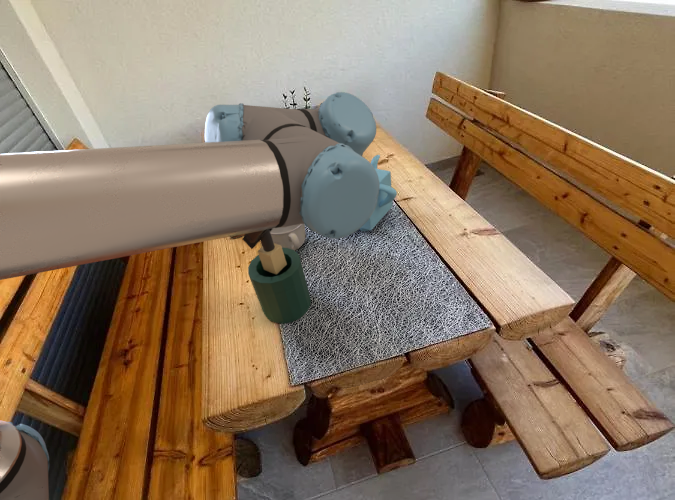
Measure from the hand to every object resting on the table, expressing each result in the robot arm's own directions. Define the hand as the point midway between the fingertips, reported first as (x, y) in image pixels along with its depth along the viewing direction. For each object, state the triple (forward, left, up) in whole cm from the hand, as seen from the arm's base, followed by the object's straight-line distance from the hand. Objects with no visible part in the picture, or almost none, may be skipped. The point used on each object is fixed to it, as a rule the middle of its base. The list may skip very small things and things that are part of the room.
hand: (253, 238), depth 77 cm
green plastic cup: (+1, -4, -17) cm, 18 cm away
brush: (+1, -4, -6) cm, 7 cm away
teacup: (+11, +13, -17) cm, 25 cm away
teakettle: (+32, +12, -17) cm, 39 cm away
